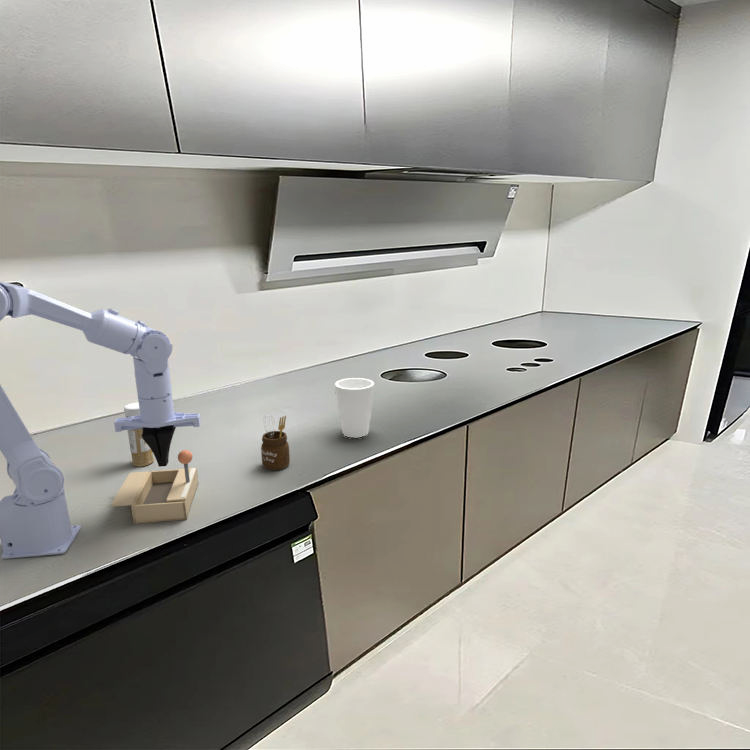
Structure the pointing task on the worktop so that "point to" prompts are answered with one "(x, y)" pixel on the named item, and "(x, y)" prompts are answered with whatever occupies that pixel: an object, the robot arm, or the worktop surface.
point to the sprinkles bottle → (137, 440)
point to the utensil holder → (275, 448)
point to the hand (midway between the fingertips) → (163, 464)
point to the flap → (182, 478)
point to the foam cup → (354, 405)
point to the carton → (154, 496)
